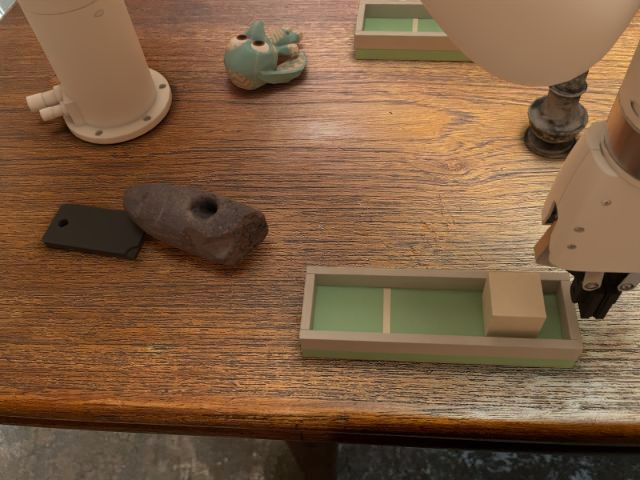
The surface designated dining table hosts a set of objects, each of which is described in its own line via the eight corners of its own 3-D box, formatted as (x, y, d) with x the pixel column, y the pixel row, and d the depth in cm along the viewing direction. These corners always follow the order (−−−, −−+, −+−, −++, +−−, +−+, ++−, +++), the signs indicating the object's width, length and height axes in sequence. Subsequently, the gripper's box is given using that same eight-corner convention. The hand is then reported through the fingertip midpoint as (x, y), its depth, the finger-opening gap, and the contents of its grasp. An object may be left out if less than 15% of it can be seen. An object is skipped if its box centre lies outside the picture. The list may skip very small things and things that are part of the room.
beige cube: (484, 339, 50) (492, 315, 47) (481, 297, 52) (488, 271, 49) (535, 341, 49) (546, 317, 46) (529, 298, 52) (539, 272, 49)
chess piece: (580, 162, 62) (618, 67, 53) (520, 157, 63) (546, 62, 54) (577, 122, 66) (613, 25, 56) (521, 118, 67) (546, 21, 57)
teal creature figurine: (331, 10, 71) (269, 52, 64) (330, 66, 76) (272, 110, 69) (258, -13, 75) (192, 24, 68) (261, 42, 80) (200, 81, 73)
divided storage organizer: (302, 357, 52) (298, 338, 49) (310, 286, 56) (306, 265, 53) (571, 368, 50) (583, 349, 47) (558, 293, 54) (569, 272, 51)
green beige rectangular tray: (355, 59, 74) (354, 34, 72) (360, 24, 78) (359, -1, 76) (542, 63, 72) (549, 37, 69) (537, 26, 76) (543, 1, 73)
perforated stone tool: (118, 236, 61) (94, 191, 55) (148, 198, 63) (127, 151, 57) (251, 287, 56) (239, 244, 51) (277, 244, 59) (268, 199, 53)
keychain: (132, 255, 58) (39, 241, 60) (135, 259, 59) (42, 245, 61) (152, 214, 61) (62, 202, 63) (154, 219, 62) (65, 206, 64)
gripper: (804, 84, 34) (676, 264, 49) (530, 86, 36) (486, 261, 51) (863, 185, 30) (703, 350, 45) (548, 183, 32) (494, 343, 46)
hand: (588, 302), depth 48 cm, fingers closed
